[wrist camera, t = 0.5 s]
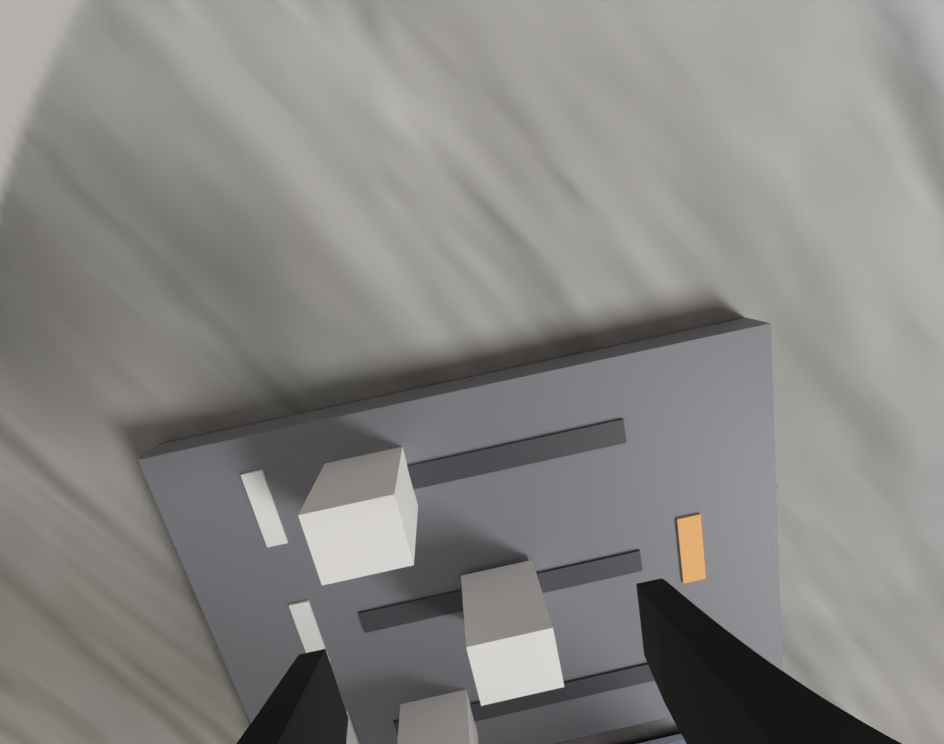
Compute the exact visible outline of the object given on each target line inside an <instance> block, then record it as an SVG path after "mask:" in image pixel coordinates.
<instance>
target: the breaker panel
mask: <svg viewBox="0 0 944 744" xmlns="http://www.w3.org/2000/svg"><path fill="white" fill-rule="evenodd" d="M138 462H139V465H140V467H141V469H142V472H143V474H144V476H145V479H146V481H147V483H148V485H149V488H150V490H151V492H152V495H153V497H154V499H155V502H156V504H157V506H158V509H159V511H160V513H161V516H162V518H163V520H164V523H165V525H166V527H167V530H168V532H169V534H170V537H171V539H172V541H173V544H174V546H175V548H176V551H177V553H178V555H179V558H180V560H181V562H182V565H183V567H184V569H185V572H186V574H187V576H188V579H189V581H190V583H191V586H192V588H193V590H194V593H195V595H196V597H197V600H198V602H199V604H200V607H201V609H202V611H203V614H204V616H205V618H206V621H207V623H208V625H209V628H210V630H211V632H212V635H213V637H214V639H215V642H216V644H217V646H218V649H219V651H220V653H221V656H222V658H223V660H224V663H225V665H226V667H227V670H228V672H229V674H230V677H231V679H232V681H233V684H234V686H235V688H236V691H237V693H238V695H239V698H240V700H241V702H242V705H243V707H244V709H245V712H246V714H247V716H248V719H249V721H250V723H252V721H253V720H254V718H255V717H256V716H257V714H258V713H259V711H260V710H261V708H262V707H263V705H264V704H265V703H266V701H267V700H268V698H269V697H270V695H271V694H272V692H273V691H274V689H275V688H276V687H277V685H278V684H279V682H280V681H281V679H282V678H283V676H284V675H285V673H286V672H287V671H288V669H289V668H290V666H291V665H292V664H293V662H294V661H295V659H296V658H297V656H298V655H299V654H303V653H308V652H313V651H318V650H322V649H326V652H327V655H328V658H329V661H330V664H331V667H332V670H333V673H334V676H335V679H336V682H337V685H338V688H339V691H340V694H341V697H342V700H343V703H344V706H345V709H346V712H347V715H348V728H347V739H346V744H555V743H559V742H564V741H568V740H573V739H577V738H581V737H586V736H590V735H594V734H599V733H603V732H607V731H612V730H616V729H620V728H625V727H629V726H634V725H638V724H642V723H647V722H651V721H655V720H660V719H664V718H668V717H672V716H671V714H670V712H669V710H668V708H667V707H666V705H665V703H664V700H663V698H662V696H661V694H660V691H659V689H658V687H657V684H656V682H655V680H654V677H653V675H652V673H651V670H650V668H649V665H648V663H647V661H646V658H645V656H644V649H643V640H642V631H641V622H640V613H639V604H638V596H637V587H636V584H637V583H642V582H647V581H651V580H656V579H661V578H663V579H664V580H665V581H667V582H668V583H669V584H671V585H672V586H673V587H674V588H675V589H677V590H678V591H679V592H680V593H681V594H682V595H684V596H685V597H686V598H687V599H689V600H690V601H691V602H692V603H693V604H695V605H696V606H697V607H698V608H699V609H701V610H702V611H703V612H704V613H706V614H707V615H708V616H709V617H711V618H712V619H713V620H714V621H716V622H717V623H718V624H719V625H721V626H722V627H723V628H725V629H726V630H727V631H728V632H730V633H731V634H732V635H734V636H735V637H736V638H738V639H739V640H740V641H742V642H743V643H744V644H746V645H747V646H748V647H750V648H751V649H752V650H754V651H755V652H756V653H758V654H759V655H761V656H762V657H763V658H765V659H766V660H767V661H769V662H770V663H772V664H773V665H775V666H776V667H777V668H779V669H780V670H782V650H781V621H780V591H779V562H778V532H777V503H776V473H775V443H774V414H773V384H772V355H771V325H770V323H767V322H762V321H758V320H754V319H749V318H741V319H737V320H732V321H727V322H723V323H718V324H713V325H709V326H704V327H700V328H695V329H690V330H686V331H681V332H676V333H672V334H667V335H662V336H658V337H653V338H648V339H644V340H639V341H635V342H630V343H625V344H621V345H616V346H611V347H607V348H602V349H597V350H593V351H588V352H583V353H579V354H574V355H569V356H565V357H560V358H556V359H551V360H546V361H542V362H537V363H532V364H528V365H523V366H518V367H514V368H509V369H504V370H500V371H495V372H491V373H486V374H481V375H477V376H472V377H467V378H463V379H458V380H453V381H449V382H444V383H439V384H435V385H430V386H425V387H421V388H416V389H412V390H407V391H402V392H398V393H393V394H388V395H384V396H379V397H374V398H370V399H365V400H360V401H356V402H351V403H347V404H342V405H337V406H333V407H328V408H323V409H319V410H314V411H309V412H305V413H300V414H295V415H291V416H286V417H282V418H277V419H272V420H268V421H263V422H258V423H254V424H249V425H244V426H240V427H235V428H230V429H226V430H221V431H216V432H212V433H207V434H203V435H198V436H193V437H189V438H184V439H179V440H175V441H170V442H165V443H161V444H159V445H158V446H156V447H155V448H154V449H152V450H151V451H149V452H148V453H147V454H145V455H144V456H142V457H141V458H140V459H138ZM529 560H533V564H534V567H535V570H536V573H537V577H538V580H539V583H540V586H541V590H542V593H543V596H544V600H545V603H546V606H547V609H548V613H549V616H550V619H551V622H552V626H553V630H554V635H555V640H556V645H557V651H558V656H559V661H560V666H561V672H562V677H563V682H564V687H562V688H558V689H554V690H549V691H545V692H540V693H536V694H532V695H527V696H523V697H518V698H514V699H510V700H505V701H501V702H496V703H492V704H488V705H483V706H481V704H480V700H479V696H478V692H477V688H476V684H475V680H474V676H473V672H472V668H471V665H470V661H469V657H468V653H467V649H466V639H465V626H464V612H463V598H462V585H461V576H462V575H466V574H471V573H475V572H480V571H484V570H489V569H493V568H498V567H502V566H507V565H511V564H516V563H520V562H525V561H529Z"/></svg>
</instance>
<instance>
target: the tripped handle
mask: <svg viewBox="0 0 944 744" xmlns="http://www.w3.org/2000/svg"><path fill="white" fill-rule="evenodd" d="M461 585H462V598H463V612H464V626H465V639H466V649H467V653H468V657H469V661H470V665H471V668H472V672H473V676H474V680H475V684H476V688H477V692H478V696H479V700H480V704H481V706H483V705H488V704H492V703H496V702H501V701H505V700H510V699H514V698H518V697H523V696H527V695H532V694H536V693H540V692H545V691H549V690H554V689H558V688H562V687H564V682H563V677H562V672H561V666H560V661H559V656H558V651H557V645H556V640H555V635H554V630H553V626H552V622H551V619H550V616H549V613H548V609H547V606H546V603H545V600H544V596H543V593H542V590H541V586H540V583H539V580H538V577H537V573H536V570H535V567H534V564H533V560H529V561H525V562H520V563H516V564H511V565H507V566H502V567H498V568H493V569H489V570H484V571H480V572H475V573H471V574H466V575H462V576H461Z"/></svg>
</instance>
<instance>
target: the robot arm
mask: <svg viewBox="0 0 944 744" xmlns="http://www.w3.org/2000/svg"><path fill="white" fill-rule="evenodd" d="M636 587H637V596H638V604H639V613H640V622H641V631H642V640H643V649H644V656H645V658H646V661H647V663H648V665H649V668H650V670H651V673H652V675H653V677H654V680H655V682H656V684H657V687H658V689H659V691H660V694H661V696H662V698H663V700H664V703H665V705H666V707H667V708H668V710H669V712H670V714H671V716H672V718H673V720H674V721H675V723H676V725H677V727H678V729H679V731H680V733H681V734H677V735H672V736H668V737H664V738H659V739H655V740H650V741H646V742H642V743H637V744H901V743H899V742H897V741H896V740H894V739H892V738H890V737H888V736H886V735H884V734H883V733H881V732H879V731H877V730H876V729H874V728H872V727H870V726H869V725H867V724H865V723H863V722H862V721H860V720H858V719H857V718H855V717H853V716H852V715H850V714H848V713H847V712H845V711H843V710H842V709H840V708H838V707H837V706H835V705H834V704H832V703H830V702H829V701H827V700H825V699H824V698H822V697H821V696H819V695H818V694H816V693H814V692H813V691H811V690H810V689H808V688H807V687H805V686H804V685H802V684H801V683H799V682H798V681H796V680H795V679H793V678H792V677H790V676H789V675H788V674H786V673H785V672H783V671H782V670H780V669H779V668H777V667H776V666H775V665H773V664H772V663H770V662H769V661H767V660H766V659H765V658H763V657H762V656H761V655H759V654H758V653H756V652H755V651H754V650H752V649H751V648H750V647H748V646H747V645H746V644H744V643H743V642H742V641H740V640H739V639H738V638H736V637H735V636H734V635H732V634H731V633H730V632H728V631H727V630H726V629H725V628H723V627H722V626H721V625H719V624H718V623H717V622H716V621H714V620H713V619H712V618H711V617H709V616H708V615H707V614H706V613H704V612H703V611H702V610H701V609H699V608H698V607H697V606H696V605H695V604H693V603H692V602H691V601H690V600H689V599H687V598H686V597H685V596H684V595H682V594H681V593H680V592H679V591H678V590H677V589H675V588H674V587H673V586H672V585H671V584H669V583H668V582H667V581H665V580H664V579H663V578H661V579H656V580H651V581H647V582H642V583H637V584H636ZM347 728H348V715H347V712H346V709H345V706H344V703H343V700H342V697H341V694H340V691H339V688H338V685H337V682H336V679H335V676H334V673H333V670H332V667H331V664H330V661H329V658H328V655H327V652H326V649H322V650H318V651H313V652H308V653H303V654H299V655H298V656H297V658H296V659H295V661H294V662H293V664H292V665H291V666H290V668H289V669H288V671H287V672H286V673H285V675H284V676H283V678H282V679H281V681H280V682H279V684H278V685H277V687H276V688H275V689H274V691H273V692H272V694H271V695H270V697H269V698H268V700H267V701H266V703H265V704H264V705H263V707H262V708H261V710H260V711H259V713H258V714H257V716H256V717H255V718H254V720H253V721H252V723H251V724H250V725H249V727H248V728H247V730H246V731H245V732H244V734H243V735H242V737H241V738H240V739H239V741H238V742H237V744H346V739H347Z"/></svg>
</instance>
